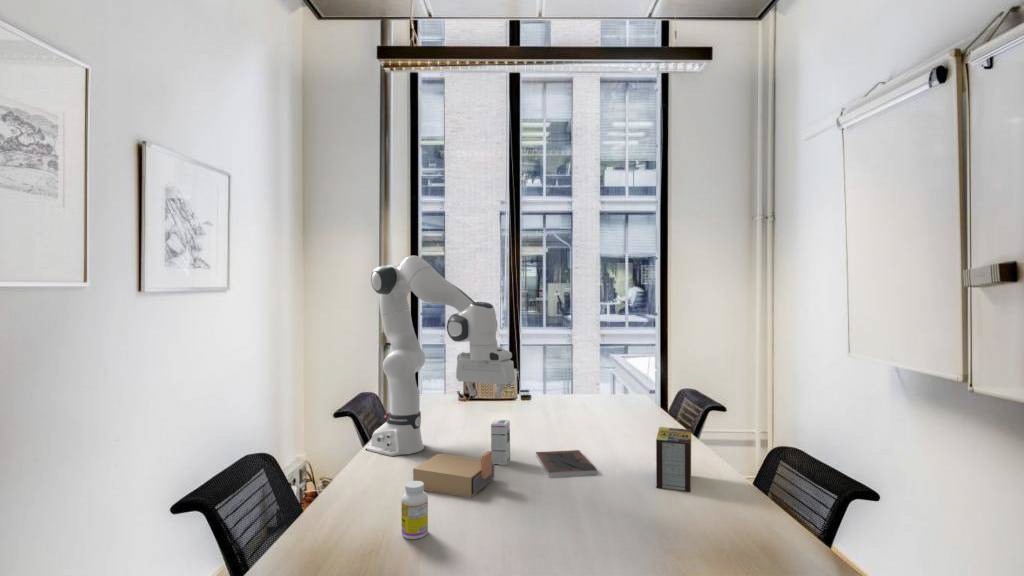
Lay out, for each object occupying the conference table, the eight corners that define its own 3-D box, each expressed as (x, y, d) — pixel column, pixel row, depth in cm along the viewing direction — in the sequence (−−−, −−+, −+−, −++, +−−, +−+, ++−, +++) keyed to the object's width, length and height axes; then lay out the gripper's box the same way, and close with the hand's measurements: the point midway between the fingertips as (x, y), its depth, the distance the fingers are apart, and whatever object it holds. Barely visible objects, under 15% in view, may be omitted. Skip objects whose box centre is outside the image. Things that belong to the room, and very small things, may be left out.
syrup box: (507, 465, 186) (507, 424, 186) (490, 464, 187) (490, 423, 187) (510, 460, 192) (510, 420, 192) (494, 459, 193) (494, 419, 193)
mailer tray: (415, 484, 167) (415, 451, 167) (438, 469, 180) (438, 439, 180) (478, 494, 158) (478, 460, 158) (497, 478, 172) (497, 447, 172)
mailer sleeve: (413, 487, 166) (413, 468, 166) (438, 471, 181) (438, 453, 181) (470, 497, 158) (470, 477, 158) (492, 479, 173) (492, 460, 173)
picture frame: (596, 476, 178) (579, 456, 199) (596, 469, 178) (579, 449, 199) (548, 479, 175) (535, 458, 196) (548, 472, 175) (535, 451, 196)
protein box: (691, 475, 177) (691, 429, 177) (690, 492, 162) (691, 442, 162) (658, 471, 180) (658, 426, 180) (655, 488, 166) (655, 438, 166)
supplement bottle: (403, 528, 138) (403, 479, 138) (428, 527, 139) (428, 478, 139) (399, 541, 132) (399, 489, 132) (426, 539, 132) (426, 488, 132)
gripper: (451, 353, 171) (452, 396, 171) (505, 355, 161) (507, 401, 161) (462, 350, 176) (464, 392, 177) (516, 353, 166) (517, 397, 166)
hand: (485, 396), depth 169 cm, fingers open, 8 cm apart
